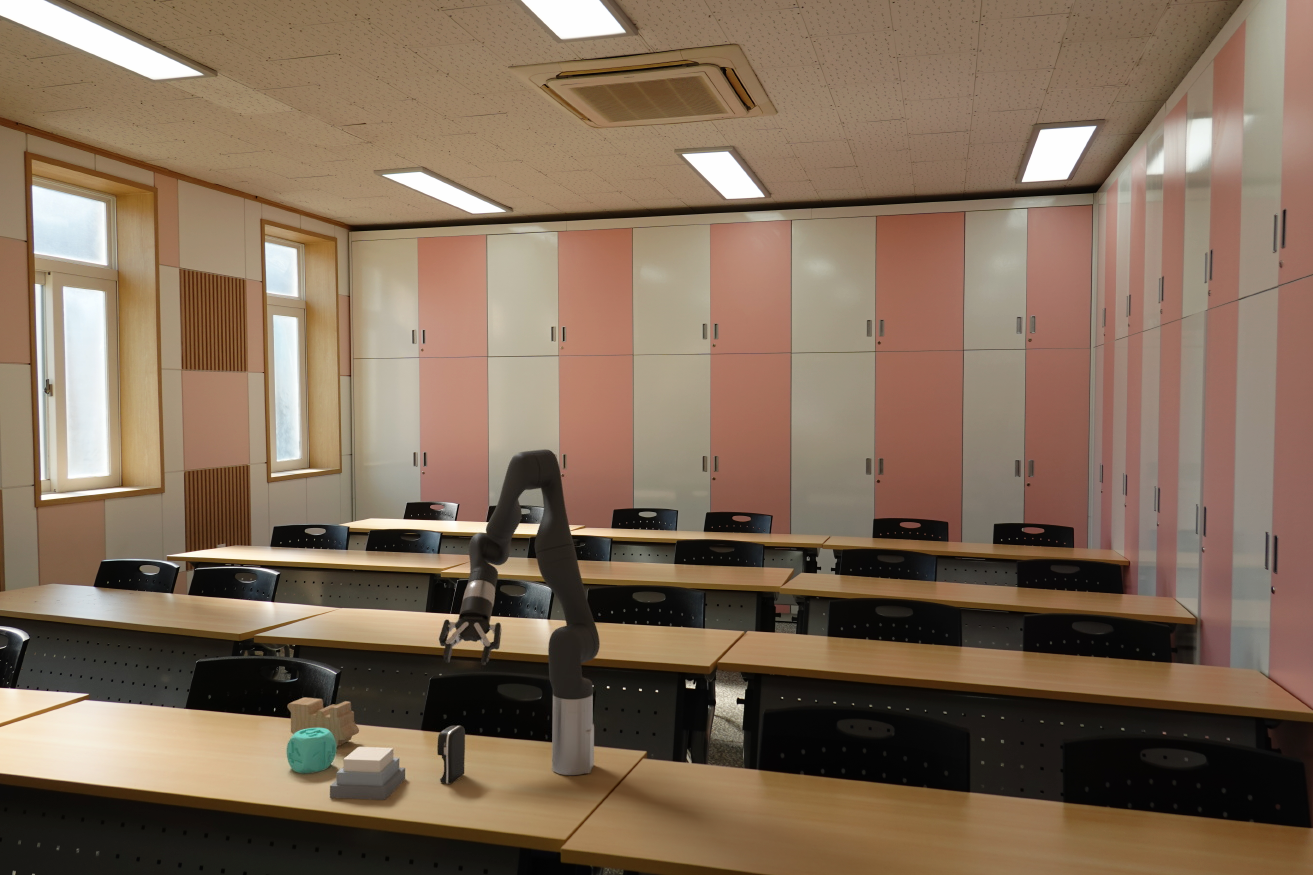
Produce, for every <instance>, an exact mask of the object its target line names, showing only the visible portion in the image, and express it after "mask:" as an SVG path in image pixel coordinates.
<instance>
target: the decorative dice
mask: <svg viewBox="0 0 1313 875" xmlns="http://www.w3.org/2000/svg"><path fill="white" fill-rule="evenodd" d="M336 755H337V747H336V741H335V738H334V736H333V734H332V733H331V732H330V731H329V730H328V729H325V728H308V729H303V730H300V731H297V732H296V733H295V734H294V735H293V734H292V736H291V737H290V738H289V740H288V742H287V745H286V758H287V762H288V764H289V767H290V768H291V769H292V770H293V771H294V772H296V773H299V774H313V773H312V772H315V773H318V772H322V771H324V770H326V769H328V768H329V767H330V766H331V764H332V763H333V762H334V760H335V757H336Z"/></svg>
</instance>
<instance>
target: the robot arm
mask: <svg viewBox="0 0 1313 875" xmlns="http://www.w3.org/2000/svg"><path fill="white" fill-rule="evenodd" d="M557 458H558V457H557V456H556V454H555V453H554V452H553V451H552V450H550V449H545V448H544V449H536V450H535V449H534V450H525V451H520V452H518V453H516V454H514V455H513V456H512V458H511V460H510V462H508V465H507V469H506V473H505V476H504V480H503V483H502V487H501V491H500V495H499V498H498V501H497V505H496V507H495V509H494V511H493V513H492V514H491V517H490V519H489V521H488V522H487V525H486V527H485V532H476V533H475V534H474V535H473V536H472V537H471V539H470V541H469V546H468V556H469V565H470V566H469V567H470V569H469V571H470V572H469V576H468V581H467V585H466V588H465V590H464V594H463V598H462V602H461V607H460V611H459V616H458V620H457V621H456V622H453V621H450V620H449V619H445V620H444V621H443V624H442V628H441V631H440V634H439V637H438V641H439V645H440V646H441V647H444V651H443V654H442V656H443V659H444V661H445V663H450V661H451V658H452V653H453V648H454V647H455V646H456V645H458V644H460V643H461V642H462V641H464V642H475V643H476V642H479V641H480V642H481V644H482V646H483V650H482V654H481V660H480V662H481V665H483V666H486V663H488V662H490V661H489V660H490V657H491V656H490V655H491V651H493V650H499V649H500V647H501V646H500V645H501V644H500V643H501V638H502V626H501V623H500V622H496V623H495V624H490V623H491V617H492V614H493V613H492V612H493V608H494V605H495V597H496V594H495V593H496V588H497V582H498V578H499V571H498V569H497V568H496V567H495V566H501V565H503V564H505V563H506V562H507V561H508V559H509V557H510V553H511V542H512V539H513V536H514V534H515V532H516V531H517V529H518V527H519V525H520V524H521V523H520V522H521V520H522V515H523V514H522V507H521V505H520V502H519V498H520V496H521V495H522V494H523V493H524V492H525V491H528V490H529V491H531V490H537V489H538V490H539V489H540V490H541V494H542V502H543V510H542V511H543V512H542V516H541V520H540V523H539V526H538V529H537V532H536V536H535V539H534V551H535V556H536V561H537V564H538V569H539V572H540V575H541V577H542V579H543V581H544V582H545V583H546V585H547V586H548V588H549V589H550V591H551V592H552V593H553V594H554V595H555V597H556V598H557V600H558V602H559V603H560V605H561V608H562V611H563V615H564V620H565V625H563V626H561V627H558V628H556V629H555V630H553V632H552V633H551V634H550V637H549V641H548V648H547V650H548V651H547V652H548V674H549V681H550V685H551V688H552V732H551V733H552V738H551V739H552V742H551V746H552V747H551V750H552V751H551V752H552V755H551V764H552V765H551V767H552V768H551V769H552V771H553V772H554V773H557V774H559V775H564V776H577V775H583V774H591V772H592V769H593V767H594V765H595V761H594V760H595V759H594V757H595V724H594V723H593V709H594V708H593V703H594V702H593V701H594V700H593V699H594V696H593V695H594V694H593V693H594V692H593V691H594V686H593V685H594V684H593V682H592V680H590V679H589V678H586V677H583V674H582V673H583V672H582V664H585V663H586V662H589V661H592V660H593V659H595V658H596V657H597V655H598V653H599V651H600V645H601V644H600V643H601V642H600V636H599V631H598V629H597V625H596V623H595V619H594V617H593V614H592V611H591V608H590V605H589V603H588V602H589V601H588V599H587V595H586V594H587V593H586V591H585V587H584V582H583V580H582V575H581V571H580V567H579V562H578V561H579V560H578V557H577V552H576V548H575V544H574V541H573V540H574V539H573V536H572V531H571V529H570V524H569V520H568V515H567V508H566V502H565V496H564V489H563V482H562V475H561V470H560V469H561V468H560V464H559V461H558V459H557ZM454 628H455V631H454V632H453V633H452V634H451V636H450V637H449V633H451V632H452V631H453V630H454ZM490 631H492V632H491V633H492V634H493V641H491V642H490V640H489V639H488V637H487V634H488V633H489V632H490ZM448 637H449V638H448Z"/></svg>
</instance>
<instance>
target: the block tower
mask: <svg viewBox="0 0 1313 875" xmlns="http://www.w3.org/2000/svg"><path fill="white" fill-rule="evenodd" d="M342 765H343V767H341V768H339V769H338V771H337V772H336V780H334V781H333V783H331V784H330V785H329V798H331V799H350V800H351V799H354V800H355V799H356V800H377V801H380V800H381V801H383V800H384V801H386V799H388V797H389V796H391V794H393V792H394V791H395V790H396V789H397V788H398V787H400V785H401V784H402V783H403V782H404V780H406V767H400V757H394V747H377V746H375V747H373V746H358V747H356V748H355V749H354V750H353V751H351V752H350V753H349V754H348V755H347V756H345V757H344V758H343V762H342Z"/></svg>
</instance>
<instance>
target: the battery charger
mask: <svg viewBox="0 0 1313 875" xmlns="http://www.w3.org/2000/svg"><path fill="white" fill-rule="evenodd" d="M436 747H437V748H436V749H437V751H436V752H437V756H441V759H442V761H443V773H442V776H441V778H440V779H439V781H440V783H442V784H447V785H448V784H453V783H454V782H456V781H457V780H458V779H460V778H461V777H463V775H464V774H465V760H466V759H465V756H466V755H465V754H466V752H465V751H466V731H465V728H464V726H462V725H450V726H448V727H446V728H445V729H443V730H442V731H440V732H439V734H438V737H437V746H436Z"/></svg>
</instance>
